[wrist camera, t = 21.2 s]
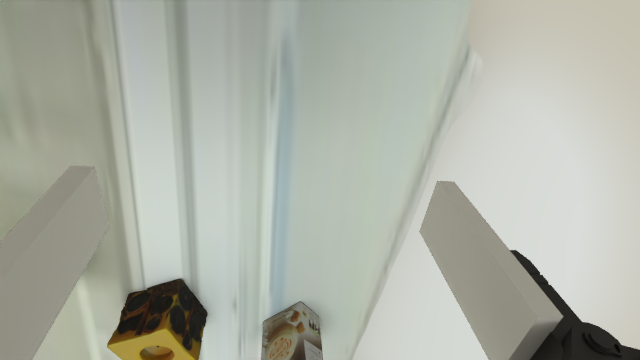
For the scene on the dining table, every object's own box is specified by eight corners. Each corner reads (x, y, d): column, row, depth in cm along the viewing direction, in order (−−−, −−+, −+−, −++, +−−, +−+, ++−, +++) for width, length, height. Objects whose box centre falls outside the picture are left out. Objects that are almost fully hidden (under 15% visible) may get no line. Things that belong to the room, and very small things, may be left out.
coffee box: (300, 299, 66) (305, 387, 52) (319, 316, 69) (329, 403, 55) (261, 321, 68) (256, 410, 54) (282, 337, 71) (282, 425, 57)
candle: (127, 293, 61) (103, 345, 53) (181, 276, 60) (165, 327, 52) (159, 327, 66) (141, 380, 58) (209, 312, 66) (198, 364, 57)
